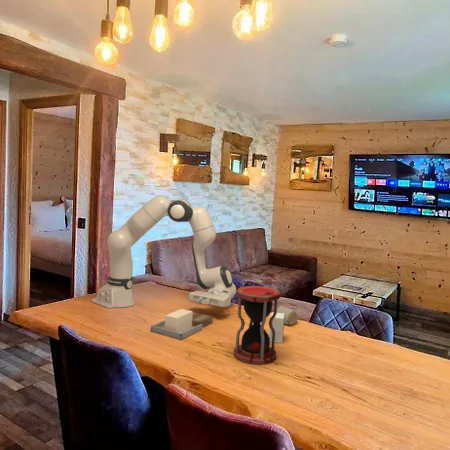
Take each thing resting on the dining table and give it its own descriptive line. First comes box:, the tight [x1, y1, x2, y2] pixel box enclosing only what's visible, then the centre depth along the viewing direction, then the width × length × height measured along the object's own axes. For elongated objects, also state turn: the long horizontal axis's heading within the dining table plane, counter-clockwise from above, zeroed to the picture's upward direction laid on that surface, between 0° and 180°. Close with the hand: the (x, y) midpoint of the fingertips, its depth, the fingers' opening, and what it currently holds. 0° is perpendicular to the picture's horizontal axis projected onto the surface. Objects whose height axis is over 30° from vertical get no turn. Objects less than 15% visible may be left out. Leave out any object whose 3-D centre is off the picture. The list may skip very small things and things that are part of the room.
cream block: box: [164, 308, 194, 333], centre depth 180 cm, size 6×7×12 cm
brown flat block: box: [192, 311, 214, 329], centre depth 191 cm, size 14×10×3 cm
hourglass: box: [233, 285, 281, 365], centre depth 157 cm, size 16×16×25 cm
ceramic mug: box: [277, 305, 299, 326], centre depth 198 cm, size 11×8×8 cm
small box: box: [268, 311, 285, 344], centre depth 175 cm, size 8×6×10 cm
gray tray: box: [150, 319, 203, 341], centre depth 180 cm, size 16×16×2 cm
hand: (200, 302), depth 194 cm, fingers closed
